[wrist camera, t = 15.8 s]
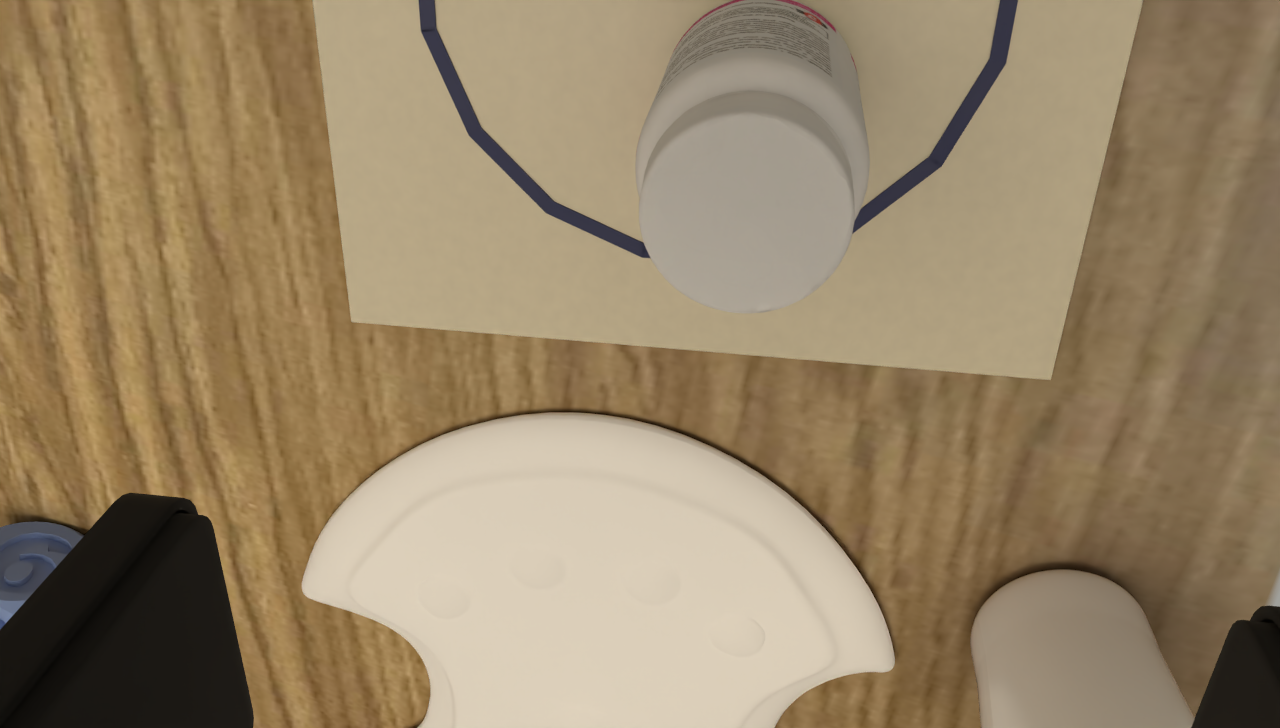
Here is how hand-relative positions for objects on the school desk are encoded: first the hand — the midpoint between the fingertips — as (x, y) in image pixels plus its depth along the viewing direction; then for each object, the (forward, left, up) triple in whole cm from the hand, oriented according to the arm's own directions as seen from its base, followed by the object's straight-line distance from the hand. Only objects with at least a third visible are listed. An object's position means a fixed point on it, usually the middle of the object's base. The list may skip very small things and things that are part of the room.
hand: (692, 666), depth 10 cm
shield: (+23, -4, -20) cm, 31 cm away
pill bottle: (0, 0, -20) cm, 20 cm away
